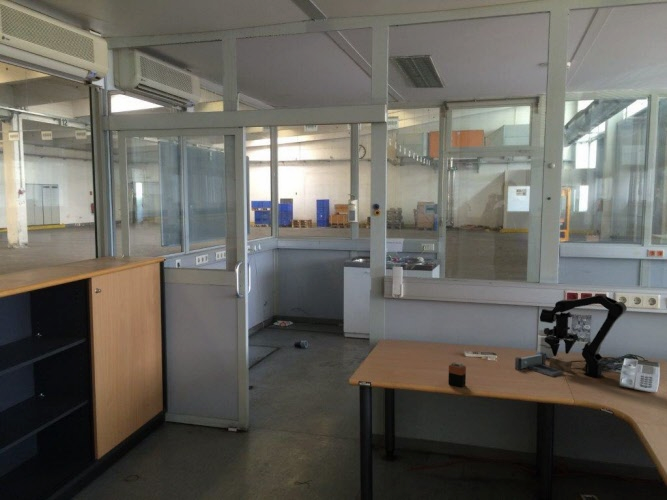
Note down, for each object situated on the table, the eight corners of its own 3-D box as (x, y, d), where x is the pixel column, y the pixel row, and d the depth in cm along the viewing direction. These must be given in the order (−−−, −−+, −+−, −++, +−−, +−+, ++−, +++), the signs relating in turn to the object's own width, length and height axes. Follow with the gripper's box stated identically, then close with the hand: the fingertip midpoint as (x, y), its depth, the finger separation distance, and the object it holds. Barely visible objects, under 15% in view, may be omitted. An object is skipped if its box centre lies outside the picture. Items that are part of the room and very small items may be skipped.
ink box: (539, 358, 276) (540, 331, 275) (537, 355, 281) (537, 329, 280) (555, 358, 275) (556, 332, 274) (552, 356, 280) (553, 329, 279)
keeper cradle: (563, 374, 249) (563, 371, 248) (552, 376, 245) (552, 373, 245) (538, 366, 261) (538, 363, 261) (527, 368, 257) (528, 365, 257)
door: (539, 363, 265) (539, 354, 265) (543, 364, 263) (544, 355, 262) (518, 367, 257) (519, 358, 257) (522, 369, 255) (523, 359, 255)
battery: (452, 382, 236) (452, 361, 236) (465, 385, 232) (466, 364, 231) (447, 384, 233) (448, 363, 232) (461, 387, 229) (462, 366, 228)
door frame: (542, 363, 266) (542, 352, 266) (545, 364, 265) (545, 353, 264) (515, 369, 257) (515, 357, 256) (518, 370, 255) (518, 358, 254)
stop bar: (571, 371, 254) (571, 361, 254) (566, 372, 253) (566, 362, 252) (554, 365, 263) (554, 356, 263) (549, 366, 262) (549, 357, 261)
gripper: (560, 319, 268) (559, 348, 269) (536, 323, 259) (535, 353, 260) (579, 324, 258) (578, 354, 259) (554, 327, 249) (553, 358, 250)
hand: (560, 354), depth 257 cm, fingers open, 9 cm apart
